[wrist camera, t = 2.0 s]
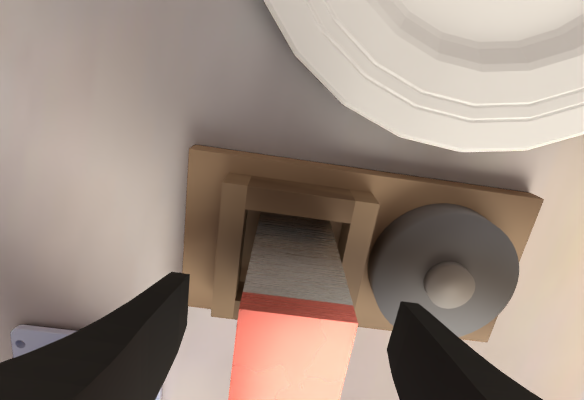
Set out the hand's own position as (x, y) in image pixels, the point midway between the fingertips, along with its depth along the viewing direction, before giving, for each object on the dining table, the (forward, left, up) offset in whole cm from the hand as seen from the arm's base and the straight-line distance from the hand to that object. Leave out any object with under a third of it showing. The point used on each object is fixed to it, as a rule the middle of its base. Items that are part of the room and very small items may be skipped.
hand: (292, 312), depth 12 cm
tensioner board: (0, -3, -6) cm, 7 cm away
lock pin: (0, 0, -5) cm, 5 cm away
